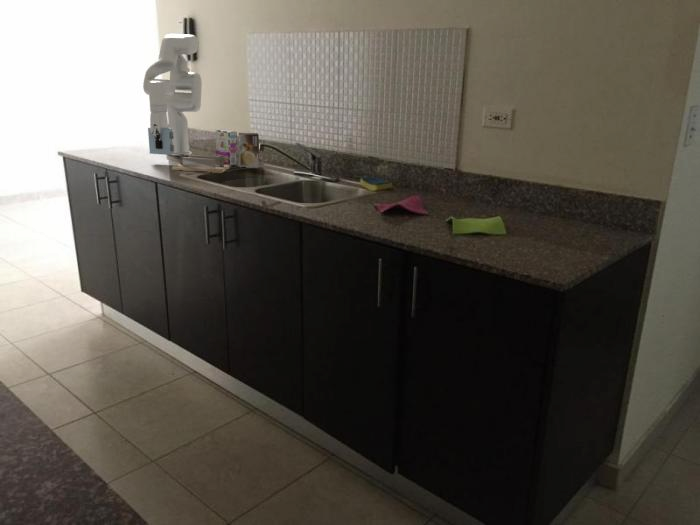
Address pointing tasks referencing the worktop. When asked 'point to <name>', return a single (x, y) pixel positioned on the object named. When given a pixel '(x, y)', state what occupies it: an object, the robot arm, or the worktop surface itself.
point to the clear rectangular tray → (202, 163)
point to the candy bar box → (227, 146)
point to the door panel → (166, 142)
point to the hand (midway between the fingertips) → (161, 147)
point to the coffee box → (249, 150)
